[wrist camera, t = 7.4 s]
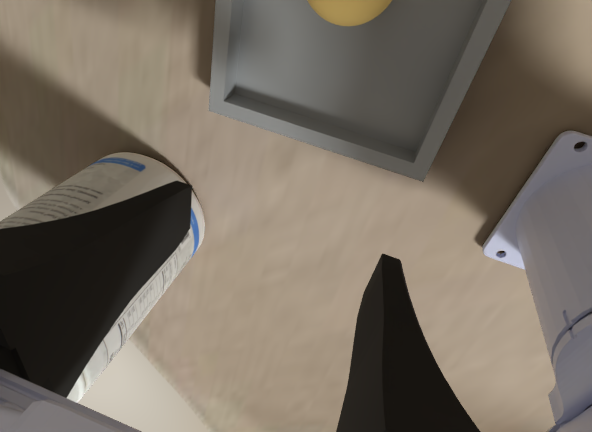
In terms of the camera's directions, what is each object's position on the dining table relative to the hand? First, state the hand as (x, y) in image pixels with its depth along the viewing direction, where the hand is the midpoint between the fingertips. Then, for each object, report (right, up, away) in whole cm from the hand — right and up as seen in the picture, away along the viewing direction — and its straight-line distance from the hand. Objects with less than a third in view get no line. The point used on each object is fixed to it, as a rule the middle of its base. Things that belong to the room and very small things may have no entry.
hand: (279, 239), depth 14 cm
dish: (+3, +10, +4) cm, 12 cm away
